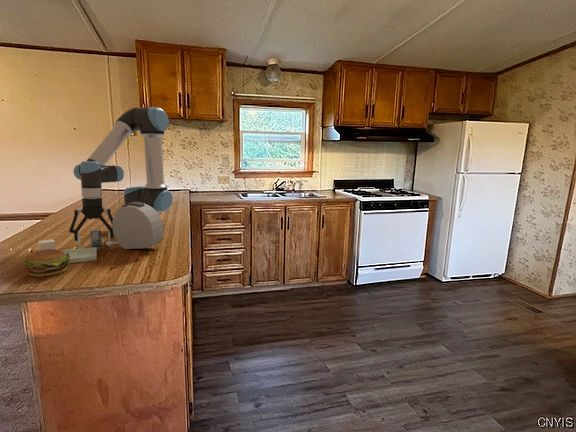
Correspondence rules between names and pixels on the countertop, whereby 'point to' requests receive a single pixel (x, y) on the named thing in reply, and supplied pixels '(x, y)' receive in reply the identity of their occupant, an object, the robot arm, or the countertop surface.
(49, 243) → the cream block
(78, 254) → the tray
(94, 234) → the metal door knob
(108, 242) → the label tile
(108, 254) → the countertop surface
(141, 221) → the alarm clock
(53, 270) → the food
